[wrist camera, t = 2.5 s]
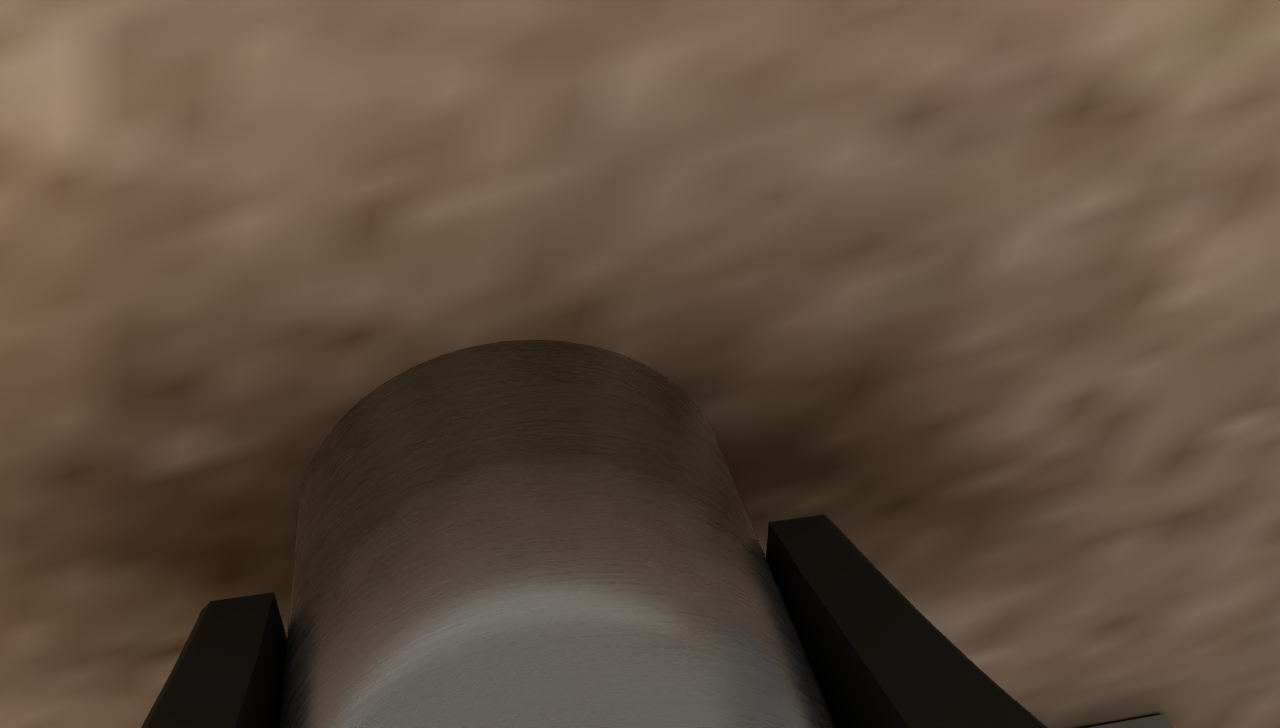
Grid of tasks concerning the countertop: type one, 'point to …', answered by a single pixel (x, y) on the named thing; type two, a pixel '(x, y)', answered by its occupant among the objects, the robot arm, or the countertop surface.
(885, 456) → the countertop surface
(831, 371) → the countertop surface
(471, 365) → the metal can
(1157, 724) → the tote
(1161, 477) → the countertop surface
